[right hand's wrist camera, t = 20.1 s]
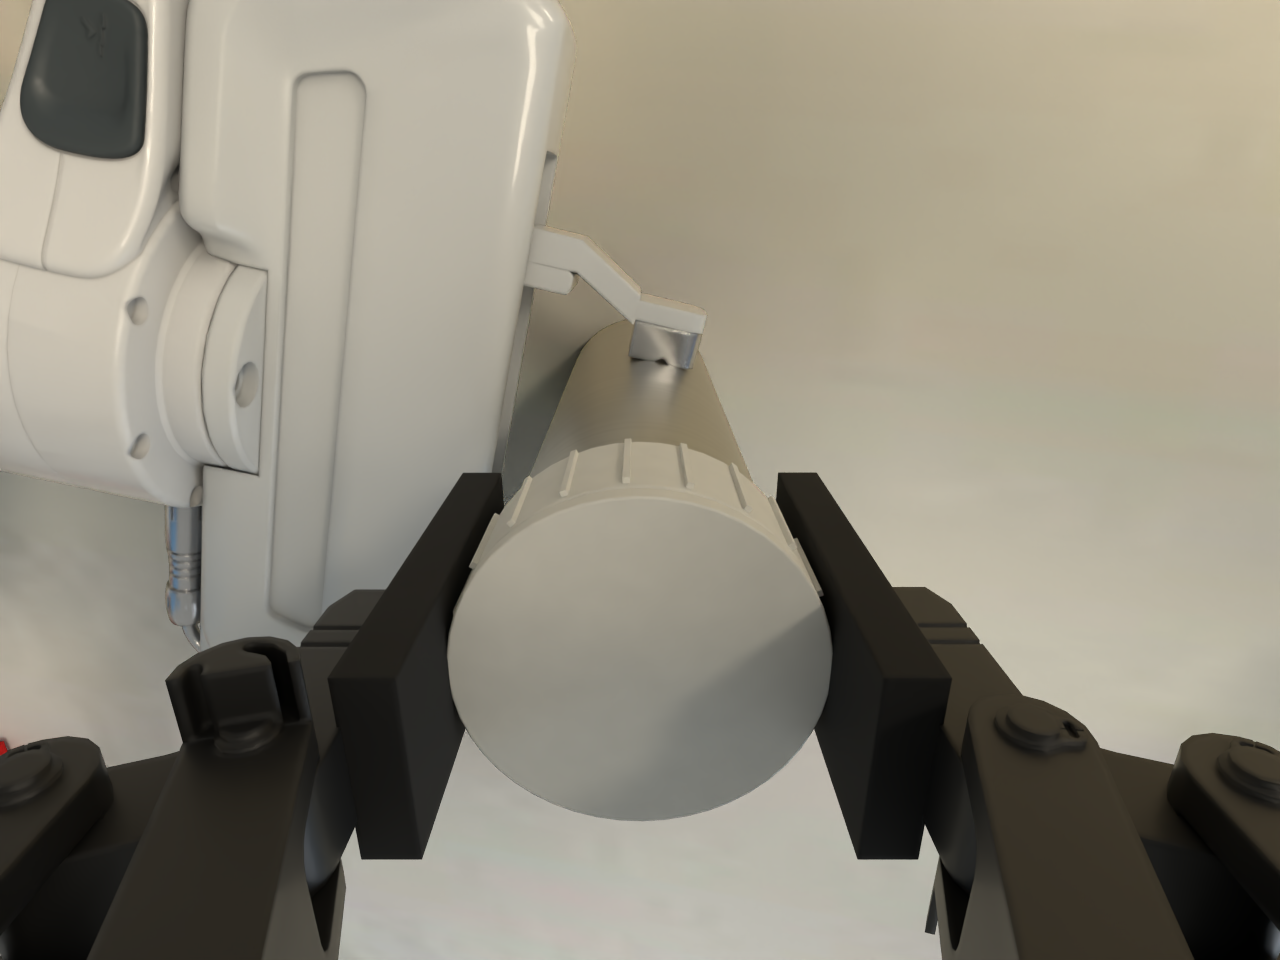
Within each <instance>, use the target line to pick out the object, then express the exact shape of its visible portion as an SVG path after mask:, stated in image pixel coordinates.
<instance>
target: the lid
mask: <svg viewBox="0 0 1280 960" xmlns="http://www.w3.org/2000/svg"><path fill="white" fill-rule="evenodd" d="M469 567H470V568H472V571H471V573H470V575H469V577H468V579H467V581H466V584H465V586H464V588H463V590H462V592H461V594H460V597H459V599H458V601H457V603H456V605H455V608H454V610H453V619H452V623H451V626H450V630H449V635H448V645H447V660H448V670H449V679H450V687H451V694H452V698H453V701H454V704H455V706H456V709H457V712H458V714H459V717H460V719H461V721H462V723H463V724H464V726H465V728H466V730H467V732H468V733H469V735H470V737H471V738H472V740H473V741H474V742H475V744H476V745H477V746H478V748H479V749H480V750H481V752H482V753H483V754H484V755H485V756H486V757H487V758H488V759H489V760H490V761H491V762H492V763H493V764H494V765H495V767H496V768H497V769H499V770H500V771H501V772H502V773H504V774H505V775H506V776H507V777H508V778H510V779H511V780H512V781H513V782H515V783H516V784H518V785H519V786H521V787H523V788H524V789H526V790H527V791H529V792H531V793H532V794H534V795H536V796H538V797H540V798H542V799H544V800H546V801H548V802H550V803H552V804H555V805H558V806H560V807H563V808H566V809H569V810H572V811H574V812H578V813H582V814H586V815H590V816H595V817H600V818H607V819H614V820H627V821H652V820H666V819H673V818H679V817H685V816H690V815H693V814H697V813H701V812H705V811H708V810H711V809H714V808H716V807H719V806H722V805H724V804H727V803H729V802H732V801H734V800H736V799H738V798H739V797H741V796H743V795H745V794H747V793H749V792H751V791H752V790H754V789H755V788H757V787H758V786H760V785H761V784H763V783H764V782H766V781H767V780H769V779H770V778H771V777H772V776H774V775H775V774H776V773H777V772H778V771H780V770H781V769H782V768H783V767H784V766H785V765H786V764H787V763H788V762H789V761H790V760H791V759H792V758H793V757H794V756H795V754H796V753H797V752H798V751H799V750H800V749H801V747H802V746H803V744H804V743H805V742H806V740H807V739H808V737H809V736H810V734H811V733H812V731H813V729H814V728H815V726H816V724H817V722H818V720H819V718H820V716H821V714H822V711H823V708H824V705H825V702H826V699H827V696H828V691H829V683H830V674H831V665H832V655H833V646H832V639H831V631H830V626H829V623H828V620H827V617H826V613H825V610H824V607H823V605H822V602H821V600H820V598H819V597H821V596H823V592H822V589H821V587H820V585H819V583H818V581H817V579H816V576H815V574H814V572H813V570H812V568H811V566H810V564H809V562H808V560H807V557H806V555H805V553H804V551H803V549H802V547H801V545H800V543H799V541H798V539H797V538H795V539H793V537H792V535H791V533H790V530H789V528H788V526H787V524H786V522H785V520H784V517H783V515H782V513H781V511H780V509H779V507H778V504H777V502H776V500H775V499H774V498H773V496H771V497H769V498H767V497H766V496H765V495H764V494H763V492H762V491H761V490H760V489H759V488H758V487H757V486H756V485H754V484H753V483H752V482H751V481H750V480H748V479H747V478H746V477H745V476H744V475H743V474H741V473H740V472H739V470H738V467H737V465H735V464H733V463H731V464H730V466H728V465H727V464H725V463H724V462H721V461H719V460H717V459H715V458H713V457H710V456H708V455H706V454H704V453H701V452H698V451H694V450H691V449H688V447H687V444H684V443H680V446H675V445H669V444H664V443H653V442H632V441H631V438H629V439H624V443H615V444H610V445H605V446H600V447H595V448H591V449H588V450H585V451H582V452H579V453H578V452H577V450H573V451H571V452H570V455H569V457H567V458H565V459H563V460H561V461H559V462H557V463H555V464H553V465H551V466H549V467H548V468H546V469H545V470H543V471H542V472H540V473H539V474H537V475H536V476H534V477H533V478H531V477H530V476H528V477H526V478H525V479H524V482H523V484H522V487H521V489H520V490H519V491H518V492H517V493H516V494H515V495H514V496H513V498H512V499H511V500H510V501H509V502H508V503H507V505H506V506H505V507H504V509H503V510H502V512H501V514H500V515H498V514H496V513H495V514H494V515H493V517H492V519H491V521H490V523H489V525H488V527H487V529H486V532H485V534H484V536H483V538H482V540H481V542H480V544H479V546H478V549H477V551H476V553H475V555H474V557H473V559H472V561H471V563H470V565H469Z"/></svg>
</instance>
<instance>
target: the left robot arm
mask: <svg viewBox="0 0 1280 960" xmlns="http://www.w3.org/2000/svg"><path fill="white" fill-rule="evenodd" d="M576 54H577V44H576V38H575V35H574V31H573V28H572V26H571V23H570V21H569V19H568V17H567V15H566V13H565V11H564V9H563V7H562V6H561V4H560V2H559V1H558V0H32V4H31V8H30V12H29V16H28V20H27V23H26V27H25V31H24V35H23V39H22V42H21V46H20V49H19V53H18V56H17V60H16V63H15V67H14V70H13V74H12V77H11V80H10V83H9V86H8V89H7V92H6V95H5V98H4V101H3V104H2V107H1V110H0V471H3V472H8V473H13V474H17V475H22V476H27V477H32V478H37V479H42V480H47V481H51V482H56V483H61V484H66V485H71V486H76V487H81V488H86V489H91V490H95V491H100V492H104V493H109V494H114V495H119V496H124V497H129V498H134V499H138V500H143V501H148V502H153V503H158V504H163V505H165V540H166V548H167V554H168V561H169V580H168V582H167V584H166V591H165V603H166V609H167V614H168V617H169V620H170V621H171V622H172V623H173V624H174V625H177V626H182V629H183V632H184V634H185V636H186V638H187V639H188V641H189V642H190V644H191V645H192V646H193V647H194V648H195V649H196V650H197V651H198V652H201V651H204V650H206V649H209V648H211V647H214V646H216V645H219V644H221V643H224V642H229V641H233V640H237V639H242V638H246V637H264V636H271V637H276V638H281V639H285V640H288V641H290V642H291V643H292V644H294V645H295V646H296V647H300V645H301V641H302V640H303V639H304V638H305V636H306V635H307V634H308V632H309V631H310V630H313V626H314V625H315V623H316V622H317V621H318V619H319V618H320V617H321V616H322V614H323V613H324V612H325V610H326V609H327V608H328V607H329V606H330V605H331V604H333V603H335V602H336V601H338V600H339V599H341V598H342V597H344V596H345V595H347V594H348V593H350V592H351V591H353V590H355V589H386V588H387V587H388V585H389V584H390V582H391V581H392V579H393V578H394V576H395V575H396V573H397V572H398V570H399V569H400V567H401V566H402V564H403V563H404V561H405V560H406V558H407V557H408V555H409V554H410V552H411V551H412V549H413V548H414V546H415V545H416V543H417V541H418V540H419V538H420V537H421V535H422V534H423V532H424V531H425V529H426V528H427V526H428V525H429V523H430V522H431V520H432V519H433V517H434V516H435V514H436V513H437V511H438V510H439V508H440V507H441V505H442V504H443V502H444V501H445V499H446V498H447V496H448V495H449V493H450V492H451V490H452V488H453V487H454V485H455V484H456V482H457V481H458V479H459V478H460V476H461V475H462V473H501V475H502V473H503V468H504V462H505V456H506V451H507V445H508V439H509V434H510V428H511V422H512V417H513V411H514V406H515V400H516V394H517V389H518V383H519V377H520V372H521V366H522V360H523V355H524V349H525V343H526V338H527V332H528V326H529V321H530V315H531V309H532V304H533V298H534V292H535V288H536V289H541V290H545V291H550V292H554V293H558V294H563V295H567V294H568V293H569V292H571V291H572V289H573V288H574V287H575V286H576V285H577V283H578V279H579V276H580V277H581V278H583V279H584V280H585V281H586V282H587V283H588V284H589V285H590V286H591V287H592V288H593V289H594V290H596V291H597V292H598V293H599V294H600V295H601V296H602V297H603V298H604V299H605V300H606V301H608V302H609V303H610V304H611V305H612V306H613V307H614V308H615V309H616V310H617V311H618V312H619V313H621V314H622V315H623V316H624V317H625V318H626V319H627V320H628V321H629V322H630V323H631V324H633V328H632V333H631V338H630V343H629V352H628V356H629V357H634V358H638V359H642V360H646V361H657V360H659V359H662V358H663V359H664V360H665V361H666V363H667V364H668V365H671V366H674V367H676V368H681V369H693V366H694V362H695V359H696V355H697V352H698V348H699V345H700V341H701V338H702V333H703V330H704V326H705V323H706V319H707V313H706V312H705V310H704V309H702V308H699V307H696V306H694V305H690V304H686V303H682V302H678V301H674V300H670V299H666V298H662V297H658V296H653V295H649V294H645V293H641V287H640V286H639V285H638V284H637V283H636V282H635V281H634V280H633V279H631V278H630V277H629V276H628V275H627V274H626V273H625V272H624V271H623V270H622V269H621V268H620V267H619V266H618V265H617V264H616V263H615V262H614V261H613V260H612V259H611V258H610V257H609V256H608V255H607V254H606V253H605V252H604V251H603V250H601V249H600V248H599V247H598V246H597V245H596V244H595V243H594V242H593V241H592V240H591V239H590V238H589V237H588V236H585V235H581V234H577V233H573V232H569V231H565V230H561V229H557V228H553V227H549V226H546V225H547V219H548V213H549V208H550V202H551V196H552V191H553V185H554V179H555V174H556V168H557V163H558V157H559V151H560V146H561V140H562V134H563V129H564V123H565V117H566V112H567V106H568V100H569V95H570V89H571V83H572V77H573V72H574V66H575V60H576ZM198 623H200V630H199V628H198V625H197V624H198Z"/></svg>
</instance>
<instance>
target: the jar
mask: <svg viewBox="0 0 1280 960" xmlns="http://www.w3.org/2000/svg"><path fill="white" fill-rule="evenodd" d="M632 328H633V324H631V323H630V322H629V321H628V320H623V321H619V322H616V323H614V324H611V325H609V326H607V327H606V328H604V329H602V330H601V331H599V332H598V333H597V334H595V335H594V336H593V337H592V338H591V339H590V340H589V341H588V342H587V343H586V345H585V346H584V348H583V349H582V350H581V352H580V354H579V356H578V358H577V360H576V363H575V365H574V368H573V370H572V372H571V375H570V377H569V380H568V382H567V385H566V387H565V390H564V392H563V394H562V397H561V399H560V402H559V404H558V407H557V409H556V412H555V414H554V416H553V419H552V421H551V424H550V426H549V429H548V431H547V434H546V436H545V439H544V441H543V443H542V446H541V448H540V451H539V453H538V456H537V458H536V461H535V463H534V465H533V468H532V470H531V473H530V475H529V476H530V477H531V478H533V477H534V476H536V475H537V474H539V473H540V472H542V471H543V470H545V469H546V468H548V467H549V466H551V465H553V464H555V463H557V462H559V461H561V460H563V459H565V458H567V457H569V455H570V452H571V451H573V450H577V452H578V453H579V452H582V451H585V450H588V449H591V448H595V447H600V446H605V445H610V444H615V443H624V439H629V438H631V441H632V442H653V443H664V444H669V445H675V446H680V443H684V444H687V447H688V449H691V450H694V451H698V452H701V453H704V454H706V455H708V456H710V457H713V458H715V459H717V460H719V461H721V462H724V463H725V464H727V465H728V466H730V464H731V463H733V464H735V465H737V467H738V470H739V472H740V473H741V474H743V475H744V476H745V477H746V478H747V479H748V480H750V481H751V482H752V483H753V481H752V479H751V476H750V474H749V471H748V469H747V466H746V464H745V462H744V459H743V457H742V454H741V452H740V449H739V447H738V444H737V442H736V440H735V437H734V435H733V432H732V430H731V427H730V425H729V422H728V420H727V418H726V415H725V413H724V410H723V408H722V405H721V403H720V400H719V398H718V395H717V393H716V391H715V388H714V386H713V383H712V381H711V378H710V376H709V373H708V371H707V369H706V366H705V364H704V361H703V359H702V356H701V355H700V353H699V351H698V352H697V355H696V359H695V362H694V366H693V369H681V368H676V367H674V366H671V365H668V364H667V363H666V361H665V360H664V359H663V358H662V359H659V360H657V361H646V360H642V359H638V358H634V357H629V356H628V352H629V343H630V338H631V333H632Z"/></svg>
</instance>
